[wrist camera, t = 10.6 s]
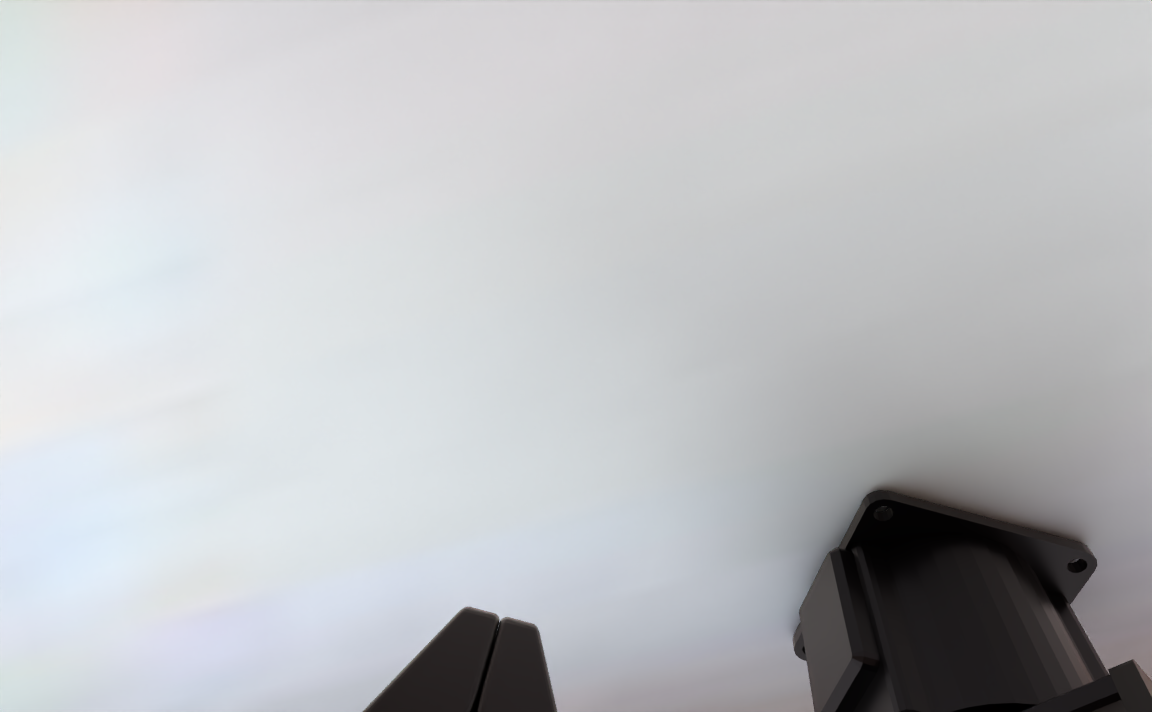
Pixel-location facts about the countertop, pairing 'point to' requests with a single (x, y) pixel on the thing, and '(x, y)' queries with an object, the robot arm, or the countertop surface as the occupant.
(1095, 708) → the robot arm
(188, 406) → the countertop surface
